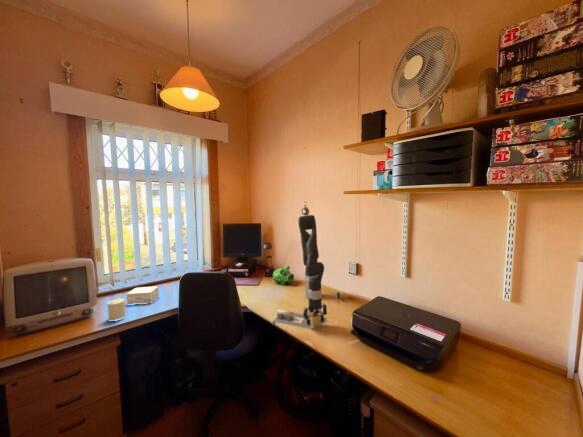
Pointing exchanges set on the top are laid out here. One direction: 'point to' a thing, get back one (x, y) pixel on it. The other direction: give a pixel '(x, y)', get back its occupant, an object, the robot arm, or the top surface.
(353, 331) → the hand tool
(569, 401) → the top surface
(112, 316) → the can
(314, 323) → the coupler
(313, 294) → the robot arm
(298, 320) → the shaft base
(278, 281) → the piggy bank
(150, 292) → the supplement box
